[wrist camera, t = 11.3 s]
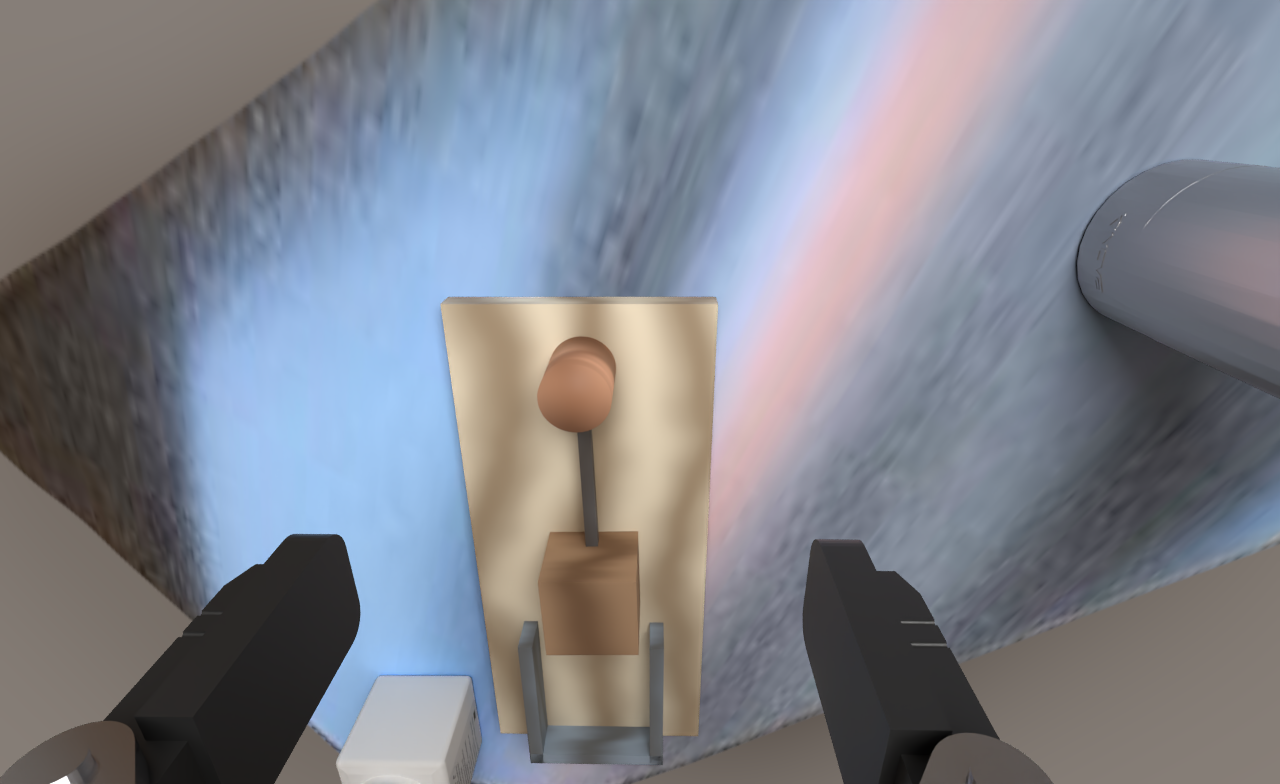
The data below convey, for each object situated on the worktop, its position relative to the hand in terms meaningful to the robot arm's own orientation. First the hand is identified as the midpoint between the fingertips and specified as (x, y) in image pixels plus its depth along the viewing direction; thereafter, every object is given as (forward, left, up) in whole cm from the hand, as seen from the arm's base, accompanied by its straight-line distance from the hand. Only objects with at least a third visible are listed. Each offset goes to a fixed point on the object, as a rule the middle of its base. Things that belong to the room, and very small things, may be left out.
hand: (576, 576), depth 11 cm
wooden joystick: (+3, +15, -27) cm, 31 cm away
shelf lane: (+3, +21, -28) cm, 35 cm away
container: (+17, +38, -28) cm, 50 cm away
